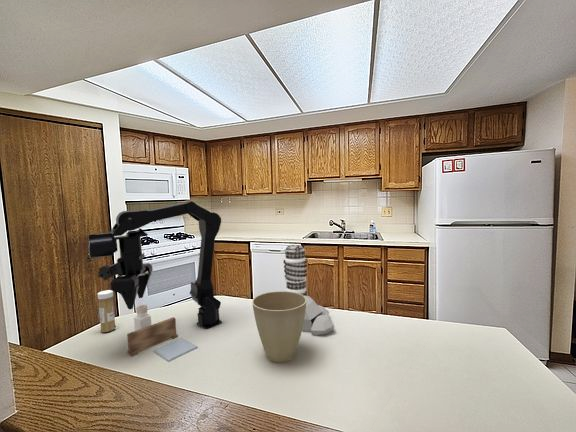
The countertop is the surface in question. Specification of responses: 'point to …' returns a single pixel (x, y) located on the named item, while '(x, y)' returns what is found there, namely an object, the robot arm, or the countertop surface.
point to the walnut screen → (151, 336)
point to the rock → (316, 318)
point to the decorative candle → (295, 269)
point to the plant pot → (279, 322)
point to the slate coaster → (175, 349)
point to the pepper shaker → (142, 318)
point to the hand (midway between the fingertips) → (136, 303)
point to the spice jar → (106, 310)
